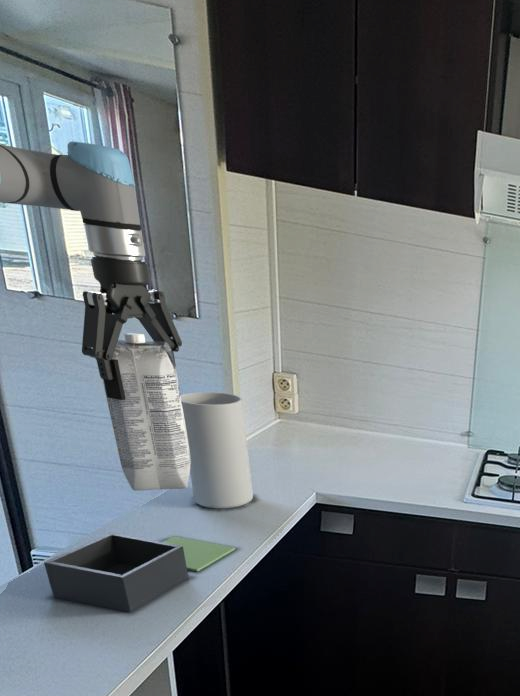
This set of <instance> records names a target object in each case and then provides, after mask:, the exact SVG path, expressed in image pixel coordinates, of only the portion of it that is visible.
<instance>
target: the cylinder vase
mask: <svg viewBox="0 0 520 696" xmlns="http://www.w3.org/2000/svg"><path fill="white" fill-rule="evenodd" d="M180 396H181V402H182V408H183V414H184V420H185V426H186V432H187V438H188V444H189V450H190V458H191V464H190V474H189V477H190V481H191V487H192V493H193V499H194V502H195V503H196V504H198V505H199V506H202V507H205V508H210V509H232V508H237V507H241V506H244V505H246V504H249V503H250V502H251V501H252V500H253V498H254V493H253V484H252V483H253V482H252V475H251V466H250V458H249V450H248V442H247V441H248V440H247V433H246V424H245V416H244V408H243V400H242V397H241V396H238V395H237V394H232V393H226V392H214V391H200V392H189V393H184V394H180Z"/></svg>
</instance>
